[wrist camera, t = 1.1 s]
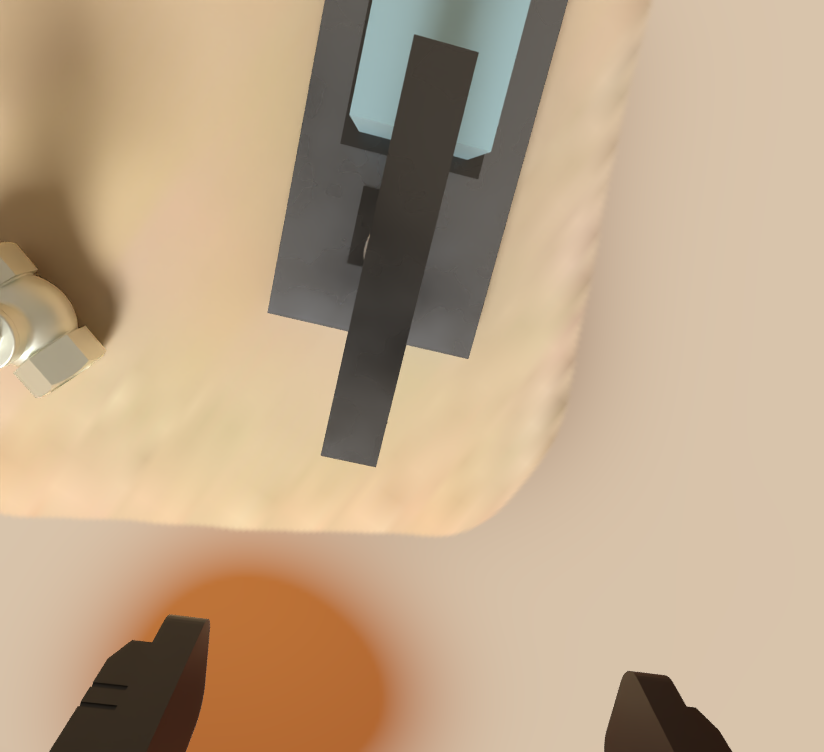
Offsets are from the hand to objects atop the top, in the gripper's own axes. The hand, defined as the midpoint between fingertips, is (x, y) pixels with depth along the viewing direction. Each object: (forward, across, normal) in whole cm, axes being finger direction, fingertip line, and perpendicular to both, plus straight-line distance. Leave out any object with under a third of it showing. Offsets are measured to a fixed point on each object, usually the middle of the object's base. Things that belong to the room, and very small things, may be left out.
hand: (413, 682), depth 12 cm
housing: (+22, +1, -11) cm, 25 cm away
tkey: (+20, +2, -7) cm, 21 cm away
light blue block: (+20, +1, -15) cm, 25 cm away
